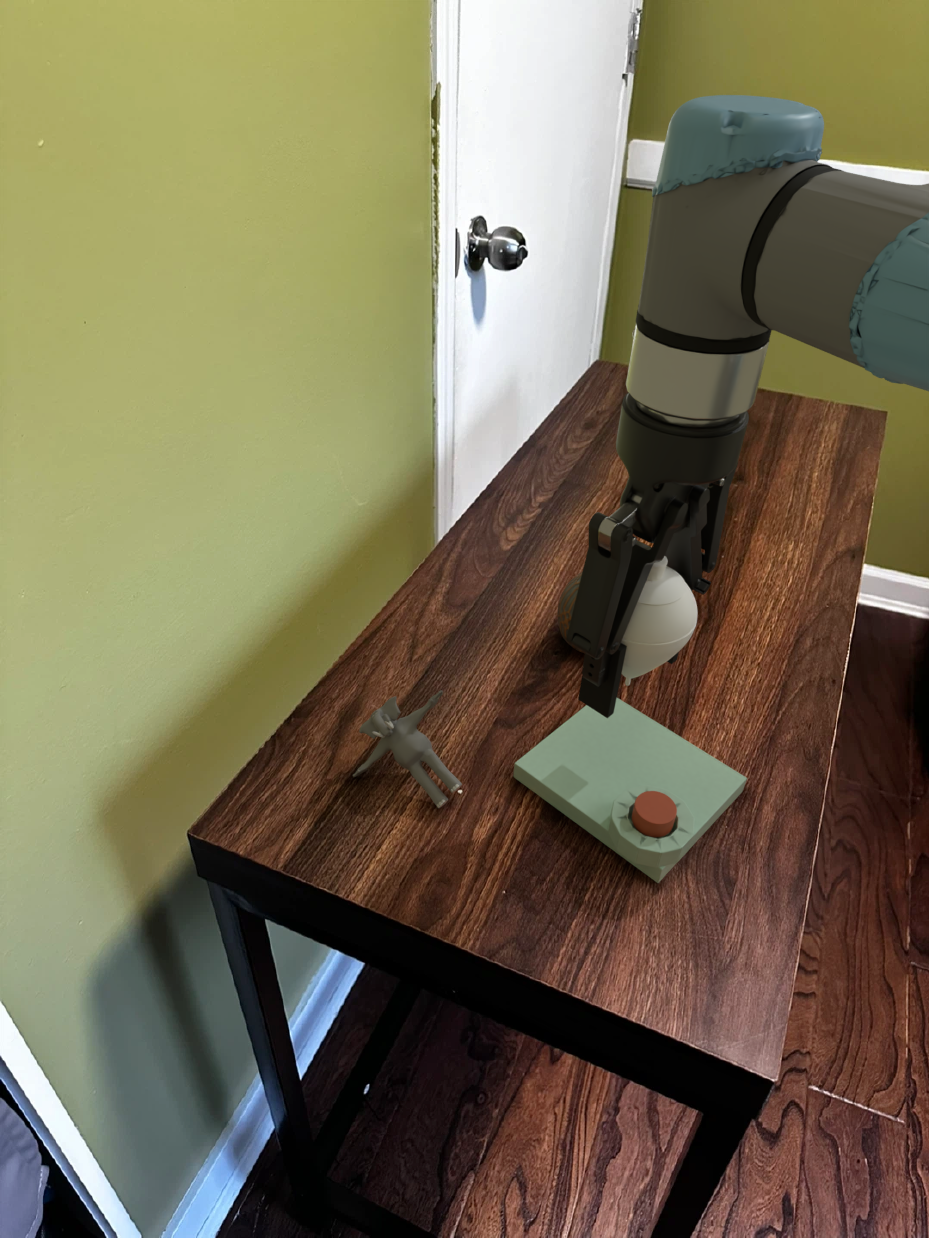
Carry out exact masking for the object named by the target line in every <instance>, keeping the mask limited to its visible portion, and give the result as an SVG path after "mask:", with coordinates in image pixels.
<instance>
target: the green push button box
mask: <svg viewBox="0 0 929 1238" xmlns="http://www.w3.org/2000/svg"><path fill="white" fill-rule="evenodd" d="M512 777H513V778H514V779H515V780H516V781H518V782H520V783H521V784H522V785H524V786H525V787H526V788H528V789H529V790H530V791H532V792H533V793H534V794H536V795H537V796H538V797H540V798H541V799H543V800H544V801H545V802H547V803H548V804H549V805H550V806H551V807H553V808H555V809H556V810H557V811H559V812H561V814H563V815H565V816H566V817H567V818H568V819H569V820H571V821H572V822H574V823H576V825H578V826H579V827H581V828H582V829H583V830H585V831H586V832H587V833H588V834H590V835H592V837H594V838H596V839H597V840H598V841H600V842H601V843H603V844H604V846H607V847H608V848H610V849H611V850H612V851H613V852H615V854H617V855H619V856H620V857H621V858H623V859H624V860H625V861H626V862H628V863H630V864H631V865H632V866H634V867H635V868H636V869H638V870H639V871H641V872H642V873H643V874H645V875H646V876H647V877H649V878H650V879H651V880H653V881H654V882H655V883H657V884H659V883H660V882H661V881H662V880H663V879H664V878H665V877H666V876H667V874H668V873H669V872H670V871H671V870H672V869H673V868H674V867H675V866H676V865H677V864H678V863H679V862H680V860H682V858H683V857H684V856H685V855H686V854H687V853H688V852H689V850H691V848H693V846H694V845H695V844H696V843H697V842H698V841H699V840H700V838H702V836H703V835H704V834H705V833H706V832H707V831H708V830H709V829H710V828H711V826H713V825H714V823H715V822H716V821H717V820H718V819H719V818H720V817H721V816H722V815H723V814H724V813H725V811H727V809H728V808H729V807H730V806H731V805H732V803H734V802H735V800H736V799H737V798H738V797H739V796H740V795H741V794H742V793H743V791H744V789H745V785H746V783H747V780H748V777H746V776H745V775H743V774H741V773H740V772H738V771H737V770H735V769H734V768H732V767H731V766H729V765H727V764H725V763H724V762H722V761H721V760H719V759H717V758H716V757H714V756H713V755H711V754H709V753H707V752H706V751H704V750H703V749H701V748H699V747H698V746H696V745H695V744H693V743H691V742H689V741H688V740H686V739H685V738H683V737H682V736H680V735H678V734H676V733H675V732H674V731H672V730H671V729H669V728H668V727H665V726H664V725H662V724H660V723H659V722H657V721H656V720H654V719H652V718H651V717H649V716H647V715H646V714H644V713H643V712H641V711H639V710H638V709H636V708H634V707H633V706H632V705H630V704H628V703H627V702H625V701H624V700H622V699H620V698H619V697H617V699H616V704H615V709H614V713H613V714H612V715H611V716H610V717H609V718H606V717H604V716H603V715H601V714H600V713H598V712H597V711H595V710H593V709H592V708H590V707H589V706H587V705H586V704H585V706H583V707H582V708H581V709H580V710H578V711H577V712H575V714H573V715H572V716H571V717H569V718H568V719H567V720H566V721H565V722H563V723H562V724H561V725H560V726H558V728H556V729H555V730H554V731H553V732H551V733H550V734H549V735H547V736H546V737H545V738H544V739H542V740H541V741H540V742H538V744H536V745H535V746H534V747H532V749H529V751H528V752H526V753H525V754H524V755H522V756H521V757H520V758H519V759H518V760H517V761H515V762H514V764H513V776H512ZM647 791H657V792H661V793H663V794H665V795H667V796H668V797H670V798H671V799H672V800H673V802H674V803H675V805H676V808H677V814H676V818H675V821H674V825H673V828H672V830H671V831H670V832H669V833H668V834H667V835H665V836H663V837H649V836H646V835H644V834H642V833H641V832H639V831H638V830H637V829H636V828H635V826H634V825H633V822H632V812H633V808H634V804H635V800H636V798H637V797H638V796H639V795H640V794H641V793H644V792H647Z"/></svg>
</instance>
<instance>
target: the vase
mask: <svg viewBox="0 0 929 1238" xmlns="http://www.w3.org/2000/svg"><path fill="white" fill-rule="evenodd" d="M582 572H583V571H580V573H578V574H577V575H575V576H574V577H573V578H572V579H570V581H568V583H567V584H566V585H565V587H564V589H563V591H562V592H561V595H560V597H559V599H558V605H557V611H556V612H557V614H556V615H557V616H556V619H557V626H558V630H559V632H560V634H561V636H562V638H563V639H564V641H565V642H566V643H567V644H568V645H569V646H570V647H571V648H572V649H574V650H576V651H577V652H580V653H581V654H585V652H583V651H581V650H580V649H578V648H576V647H575V646H573V645H571V644H570V643H568V642H567V641H566V637H567V633H568V629H569V625H570V621H571V617H572V612H573V608H574V604H575V600H576V596H577V592H578V588H579V584H580V580H581V576H582Z"/></svg>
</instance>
